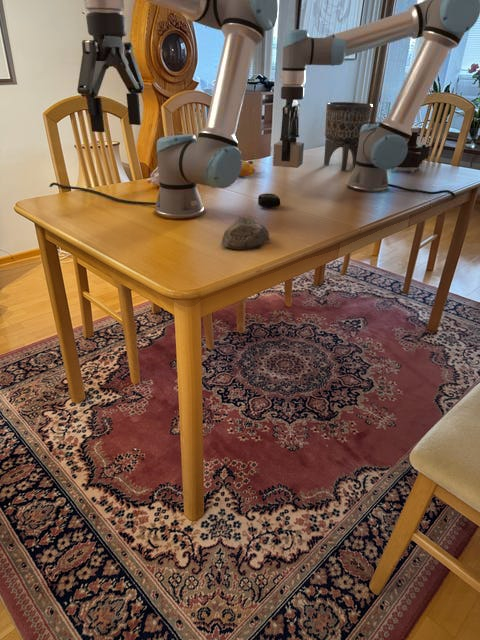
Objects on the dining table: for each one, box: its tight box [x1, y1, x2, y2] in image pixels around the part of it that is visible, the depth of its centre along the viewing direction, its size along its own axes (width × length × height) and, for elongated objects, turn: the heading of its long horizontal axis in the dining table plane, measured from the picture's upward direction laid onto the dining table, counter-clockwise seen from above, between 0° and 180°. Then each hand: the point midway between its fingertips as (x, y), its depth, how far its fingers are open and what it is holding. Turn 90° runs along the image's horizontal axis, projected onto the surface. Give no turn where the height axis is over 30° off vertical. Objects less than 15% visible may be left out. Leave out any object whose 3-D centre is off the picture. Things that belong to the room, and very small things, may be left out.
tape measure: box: [257, 192, 281, 209], centre depth 151 cm, size 7×7×4 cm
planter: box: [323, 101, 374, 172], centre depth 204 cm, size 20×20×26 cm
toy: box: [238, 160, 256, 178], centre depth 191 cm, size 11×6×15 cm
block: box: [272, 140, 305, 169], centre depth 158 cm, size 7×9×7 cm
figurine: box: [145, 166, 159, 186], centre depth 170 cm, size 8×15×13 cm, turn 145°
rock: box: [221, 216, 270, 250], centre depth 119 cm, size 13×9×6 cm, turn 131°
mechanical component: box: [391, 124, 432, 173], centre depth 206 cm, size 22×21×30 cm
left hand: (117, 128), depth 101 cm, fingers open, 13 cm apart
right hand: (288, 158), depth 159 cm, fingers closed on block, 7 cm apart
